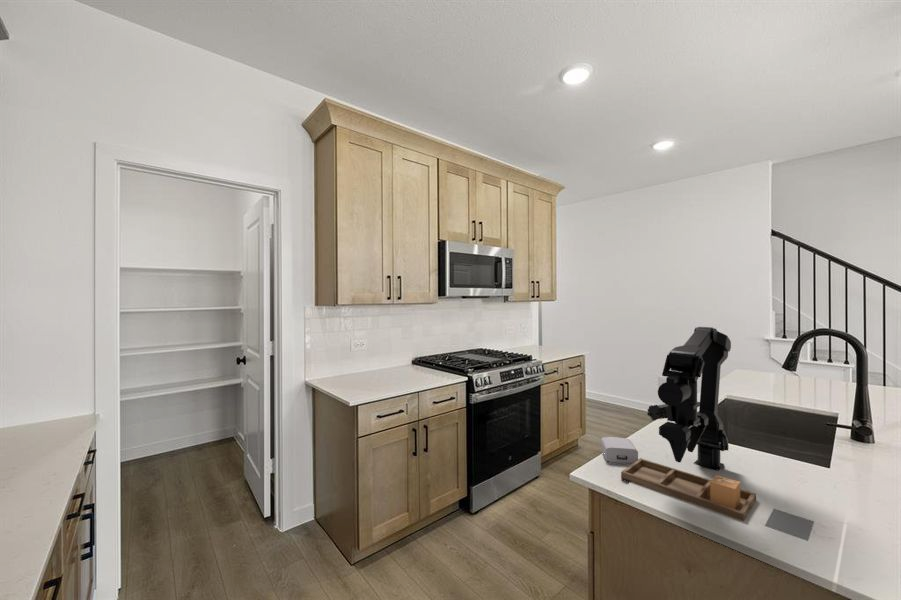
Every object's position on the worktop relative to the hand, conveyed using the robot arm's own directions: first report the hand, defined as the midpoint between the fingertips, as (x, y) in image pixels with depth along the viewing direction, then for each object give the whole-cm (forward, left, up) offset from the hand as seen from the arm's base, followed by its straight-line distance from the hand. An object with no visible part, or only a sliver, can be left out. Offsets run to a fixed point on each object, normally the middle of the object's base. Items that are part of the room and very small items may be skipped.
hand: (684, 456), depth 101 cm
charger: (-10, -23, -10) cm, 27 cm away
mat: (0, +21, -9) cm, 23 cm away
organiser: (0, 0, -9) cm, 9 cm away
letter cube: (0, +9, -8) cm, 12 cm away
